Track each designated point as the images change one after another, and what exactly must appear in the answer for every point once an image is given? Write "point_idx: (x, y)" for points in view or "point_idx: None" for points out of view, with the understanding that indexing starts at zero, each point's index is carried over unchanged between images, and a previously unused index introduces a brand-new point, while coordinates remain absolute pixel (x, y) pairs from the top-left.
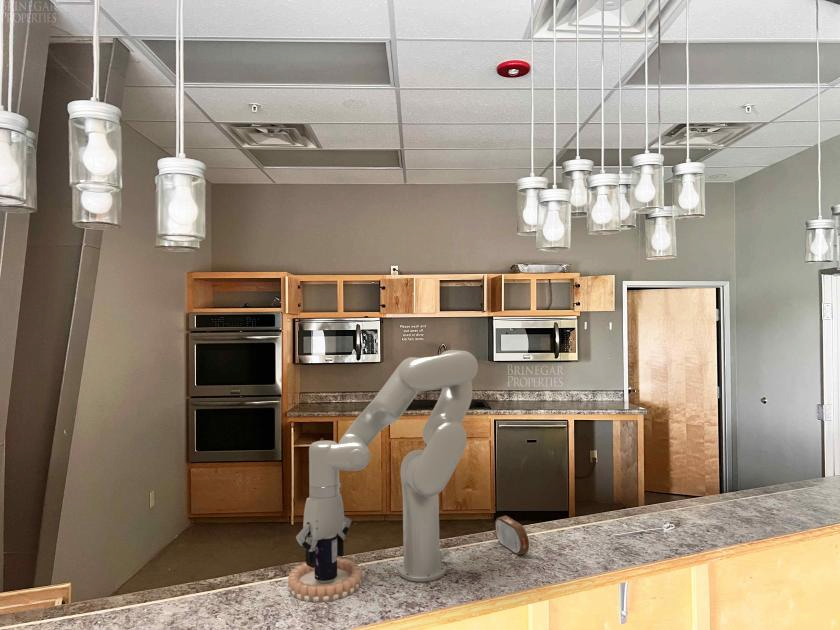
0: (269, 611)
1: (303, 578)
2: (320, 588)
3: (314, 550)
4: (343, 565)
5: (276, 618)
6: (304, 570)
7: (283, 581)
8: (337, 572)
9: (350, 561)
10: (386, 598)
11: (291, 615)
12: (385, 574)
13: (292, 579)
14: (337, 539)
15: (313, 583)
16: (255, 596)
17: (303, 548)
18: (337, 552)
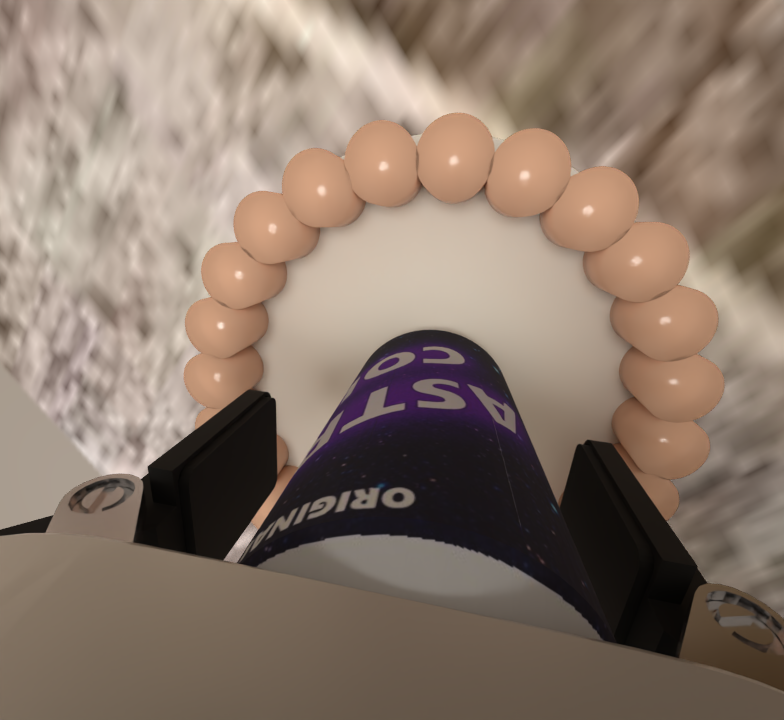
0: (82, 349)
1: (366, 245)
2: (259, 522)
3: (319, 439)
4: (638, 400)
5: (83, 420)
6: (409, 197)
7: (301, 102)
8: (567, 378)
9: (691, 447)
10: None
11: (138, 454)
12: (724, 583)
13: (212, 301)
14: (635, 630)
15: (355, 359)
16: (83, 141)
17: (87, 482)
18: (570, 508)
